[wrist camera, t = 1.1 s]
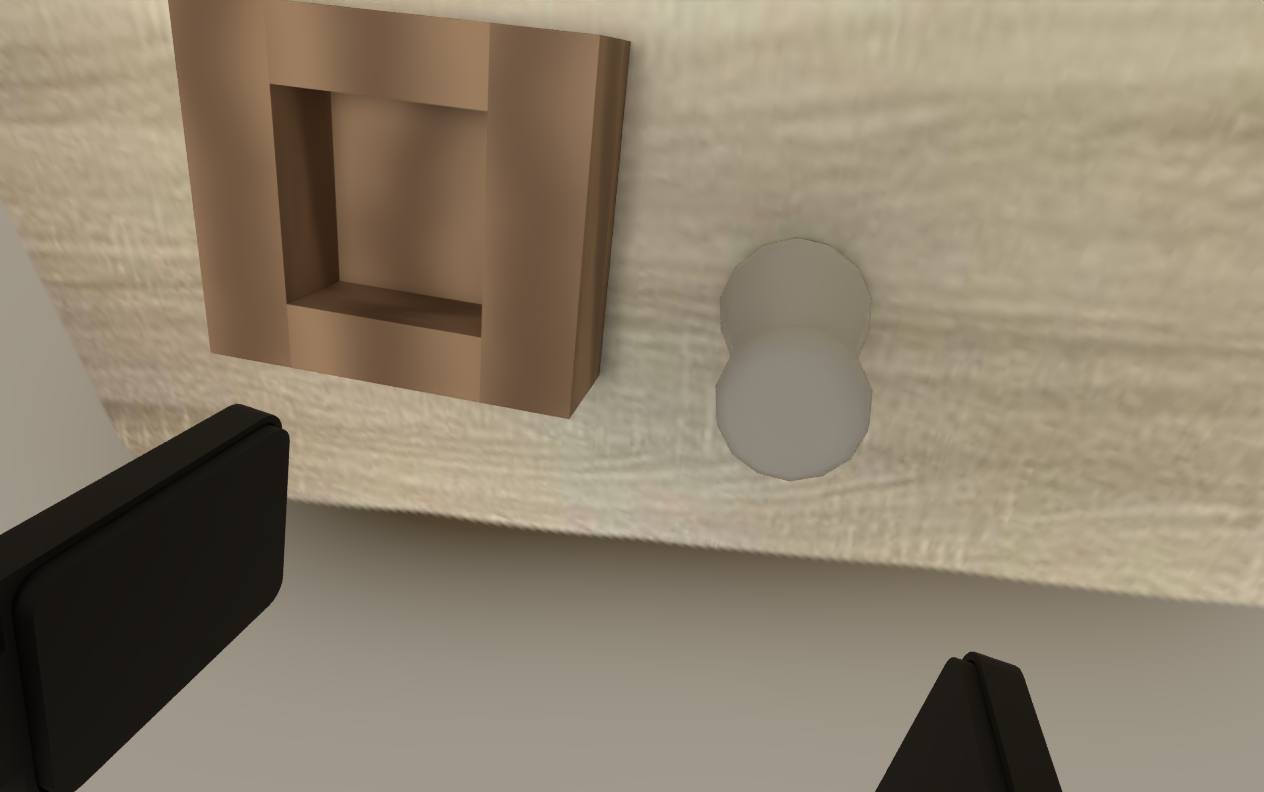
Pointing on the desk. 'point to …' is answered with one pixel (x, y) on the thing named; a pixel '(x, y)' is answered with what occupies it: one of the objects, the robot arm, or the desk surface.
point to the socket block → (403, 195)
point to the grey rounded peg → (794, 360)
